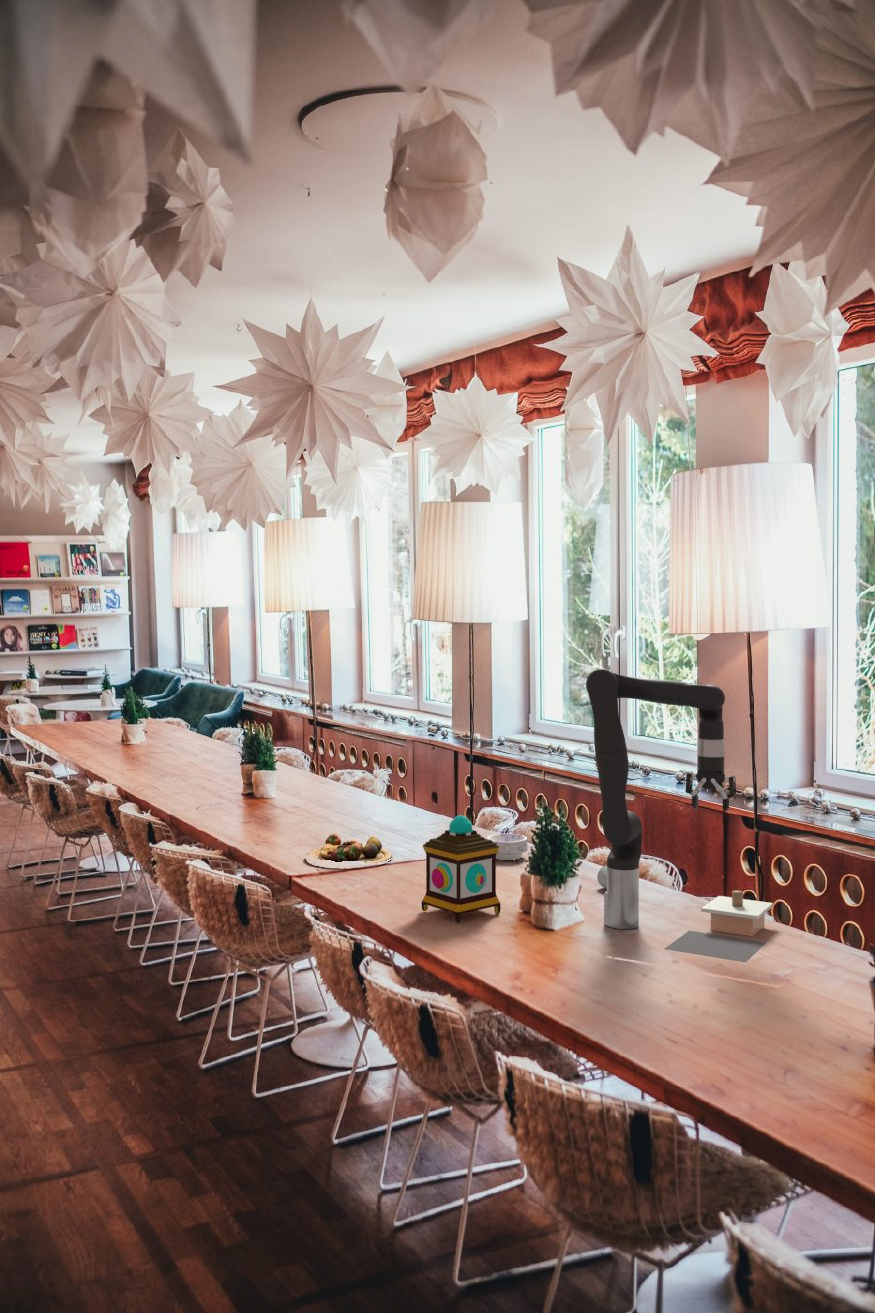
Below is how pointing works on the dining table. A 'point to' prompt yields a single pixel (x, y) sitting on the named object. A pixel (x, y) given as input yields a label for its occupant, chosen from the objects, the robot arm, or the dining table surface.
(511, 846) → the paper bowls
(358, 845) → the wooden plate with food
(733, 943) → the rubber mat
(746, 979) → the dining table surface
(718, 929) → the terracotta dish
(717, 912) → the cream lid
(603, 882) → the ceramic mug
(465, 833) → the decorative lantern
